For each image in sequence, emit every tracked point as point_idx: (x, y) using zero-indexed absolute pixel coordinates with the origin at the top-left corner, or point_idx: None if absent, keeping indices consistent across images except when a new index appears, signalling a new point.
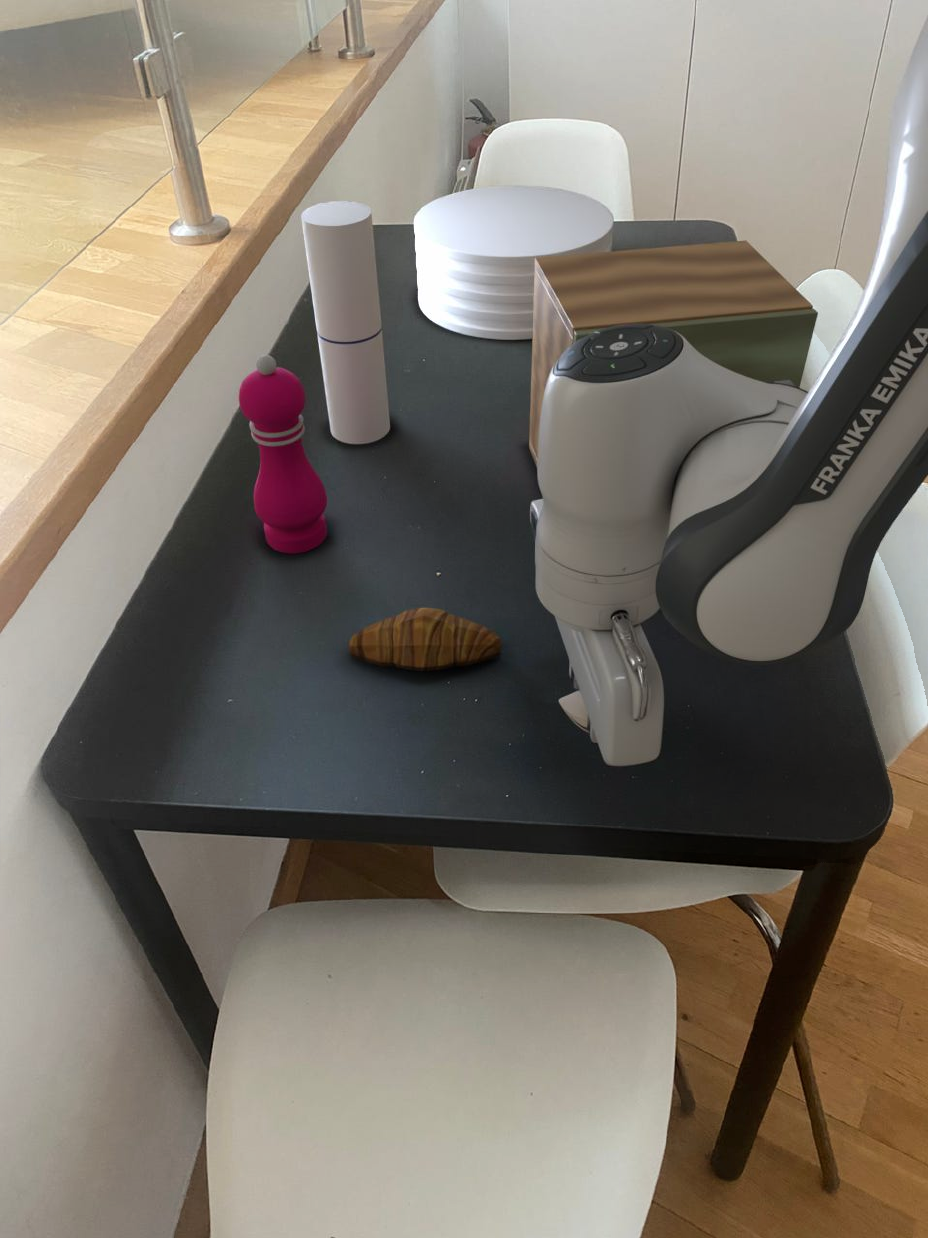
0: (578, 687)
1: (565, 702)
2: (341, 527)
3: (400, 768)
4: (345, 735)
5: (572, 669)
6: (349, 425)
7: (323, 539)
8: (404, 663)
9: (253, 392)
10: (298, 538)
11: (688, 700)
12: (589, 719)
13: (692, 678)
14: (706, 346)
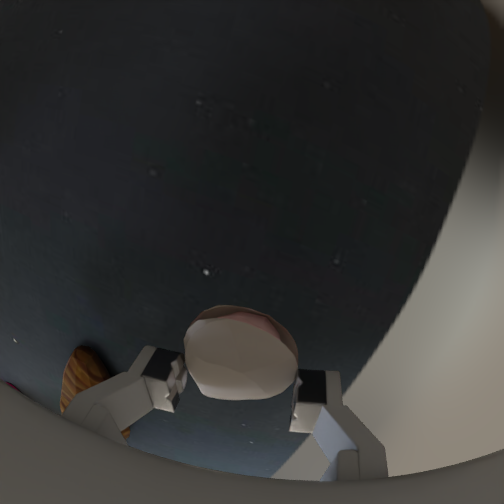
0: (185, 377)
1: (217, 398)
2: (4, 373)
3: (243, 450)
4: (199, 460)
5: (159, 408)
6: None
7: (17, 390)
8: (127, 437)
9: None
10: None
11: (186, 98)
12: (304, 431)
13: (139, 79)
14: None
